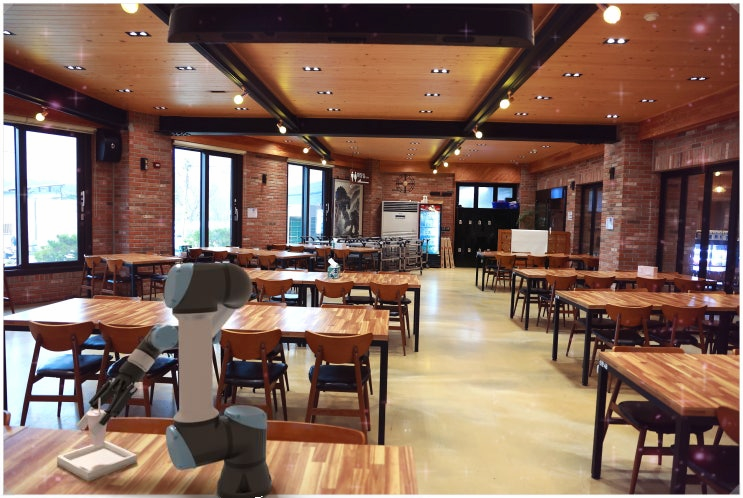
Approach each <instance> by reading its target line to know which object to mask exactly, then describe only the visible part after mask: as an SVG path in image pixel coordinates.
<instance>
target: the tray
mask: <svg viewBox="0 0 743 498" xmlns="http://www.w3.org/2000/svg"><path fill="white" fill-rule="evenodd" d="M137 460H138V455H137V454H136V453H134V452H132V451H129V450H127V449H125V448H123V447H121V446H119V445H116V444H115V443H112V442H110V441H107V440H104V443H102V444H99V445H92V444H90V445H87V446H84V447H81V448H78V449H75V450H72V451H69V452H66V453H63V454H60V455H57V457H56V465H58V466H60V467H62V468H64V469H65V470H67V471H69V472H70V473H72V474H74V475H76V476H78V477H80V478H82V479H83V480H85V481H87V482H91V481H93V480H95V479H98V478H101V477H103V476H106V475H109V474H110V473H113V472H116V471H118V470H120V469H123V468H126V467H129V466H131V465H134V464H136V463H137V462H138V461H137Z"/></svg>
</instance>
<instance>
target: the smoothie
mask: <svg viewBox="0 0 743 498" xmlns="http://www.w3.org/2000/svg"><path fill="white" fill-rule="evenodd" d="M100 405H101V398H99V404H98V409H93V410H90V411H88V410H87V411H88V412H87V411H86V412H87V413H86V412H85V413H86V417H87V418H88V425H87V427H88V431H89V430H90V428H91V427H92V426H93V425H94V423H95V422H96V421H97V419H98V418H99V417H100V416H101V414H102V413H103V412H104V410H107V409H108V408H103V407H100ZM104 413H105V412H104ZM107 424H108V422H107V423H106V424H105V425H104V426H103V428H102V429H101V430H100V431H99V433H98V434H97V435H96V436H94V435H93V434H91V433H90V432H88V434H89V438H90V445H99V444H102V443H104V440H105V439H106V431H107V426H108V425H107Z"/></svg>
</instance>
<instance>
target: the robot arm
mask: <svg viewBox="0 0 743 498" xmlns="http://www.w3.org/2000/svg"><path fill="white" fill-rule="evenodd" d="M252 293H253V282H252V280H251V277H250V275H249V274H248V272H247V271H246V270H245V269H243V268H242V267H241V266H239V265H237V264H234V263H231V262H186V263H185V262H184V263H177V264H174V265H173V266H172V267H171V268H170V270H169V271H168V273H167V276H166V279H165V284H164V292H163V294H164V295H163V296H164V297H163V298H164V303H165V306H166V308H169V310H170V309H171V311H172V313H171V315H173V317H174V318H176V320H177V321H178V325H170V324H165V325H164V324H162V323H156V324H155V325H154V326H153V327H152V328H151V329H150V330H149V331H148V333H147V335H145V337H144V338H143V339H142V340H141V342H140V343H139V344H138V346H137V347H135V349H134V350H133V351H132V353H131V354H130V355H129V356H128V358H127V360H126V361H125V362H124V363H122V365H121V366H120V368H119V371H118V372H119V374H118V375H117V376H116V377H112V376H109V377H108V378H107V380H106V381H105V383H104V384H103V385H102V386H101V388H99V390H98V391H97V392H96V393H95V394H94V395H93V397H92V398H91V399H90V400H89V401H88V404H89V405H90V406H89V408H88V409H87V410H86V412H85V413H84V414H83V416H82V418H81V419H80V420H79V421H78V422H77V424H76V425H75V427H77V428H78V429H80V430H82V431H84V430H85V429H86V428H87V427H88V418H87V417H86V413H87V412H88V411H90V410H93V409H98V404H99V398H101V405H100V408H102V406H103V405H105V404H106V403H107V402H108V401H109V400H110V399H111V398H112V400H111V401H110V404H109V405H108V407H107V408H106V409H107V410H104V412H105V413H104V412H103V413H102V414H101V416H100V417H99V418H98V419H97V421H96V422H95V423H94V425H93V426H92V427H91V428H90V430H89V429H88V433H89V432H90V433H91V434H93V435H94V436H96V435H97V434H98V433H99V431H100V430H101V429H102V428H103V426H104V425H105V424H106V423H107V424H108V422H109V420H111V418H112V417H114V416H115V417H119V415H121V413H122V411H123V410H124V408H125V407H126V405H127V404H128V403H129V401H130V400H131V398H132V396H133V395H134V394H135V393H137V392H138V390H139V388H138V387H137V386H136V385H135V384H136V383H137V384H138V383H140V382H141V381H142V379H143V378H144V376H145V375H146V372H148V371H149V370H150V369H151V367H152V366H153V364H155V362H156V361H157V360H158V358H159V357H160V356H161V354H162V353H163V352H164V351H167V350H176V349H178V389H179V390H178V396H179V400H178V401H179V405H178V407H179V409H178V411H177V412H176V414H174V415H173V419H172V420H173V424H170V425H169V426H167V427H166V430H165V441H166V448H167V451H168V455H169V458H170V460H171V463H172V465H173V466H174V467H175V469H176V470H178V471H184V470H190V469H196V468H200V467H204V466H207V465H211V464H215V463H219V462H222V461H223V465H222V469H221V472H220V475H219V478H218V480H217V484H216V494H217V496H218V497H219V496H220V497H221V498H255V497H261V496H264V497H266V496H267V495H268V494H269V493H270V492H271V490H272V485H273V484H272V482H273V480H272V476H271V474H270V473H271V472H270V470H269V466H268V462H267V440H268V439H267V436H268V435H267V433H268V432H267V431H268V422H267V421H268V420H267V417H268V416H267V413H266V412H265V411H264V410H263V409H261V408H259V407H257V406H254V405H253V406H252V405H247V404H246V405H244V404H238V405H236V404H235V405H231V406H229V407H226V408H225V410H224V415H220V412H219V410H218V409H217V408H215V406H214V387H213V384H214V383H213V380H214V377H213V376H214V375H213V345H217V344H218V343H220V341H221V339H222V338H221V337H222V328H223V326H224V325H225V324H226V323H228V320H230V318H231V317H232V316H233V315H234V313H235V312H236V311H237V310H239V309H241V308H243V307H244V306H246V304H247V303H248V301H249V300H250V299H251V296H252ZM265 495H266V496H265ZM220 497H219V498H220Z"/></svg>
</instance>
